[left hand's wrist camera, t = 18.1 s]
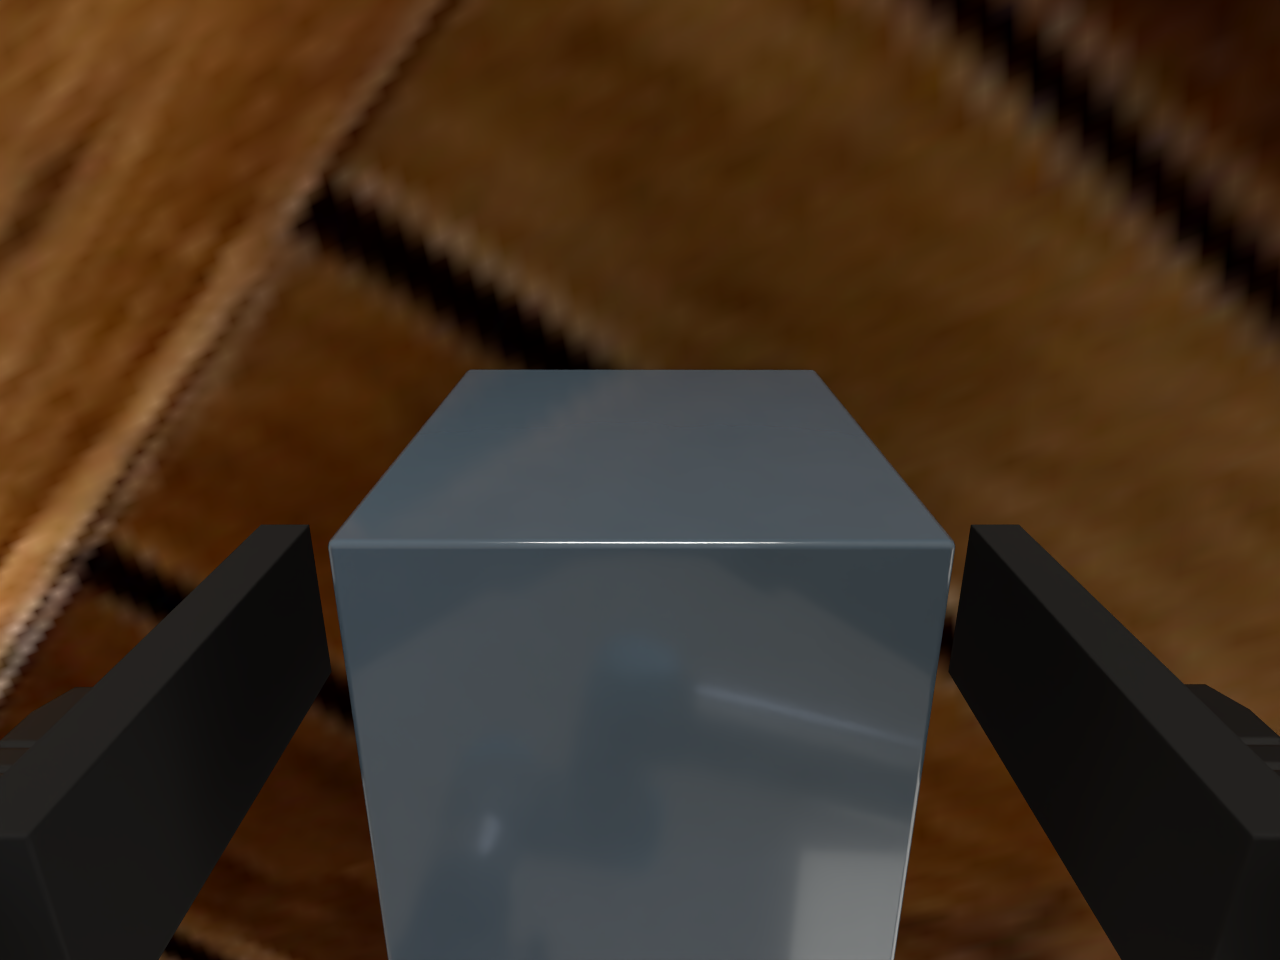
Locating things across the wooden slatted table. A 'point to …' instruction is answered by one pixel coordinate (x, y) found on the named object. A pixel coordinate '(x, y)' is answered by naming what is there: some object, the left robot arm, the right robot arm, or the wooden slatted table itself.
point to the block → (641, 670)
